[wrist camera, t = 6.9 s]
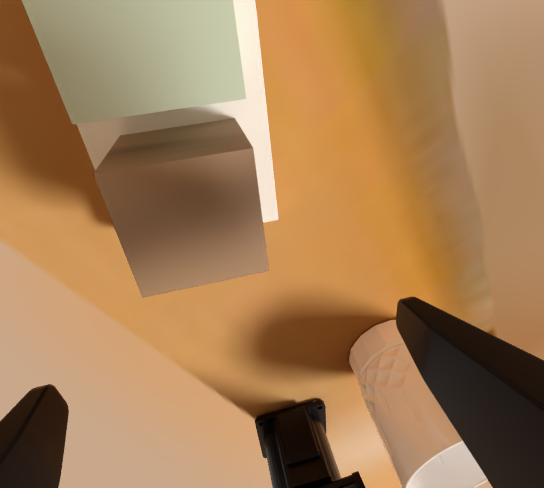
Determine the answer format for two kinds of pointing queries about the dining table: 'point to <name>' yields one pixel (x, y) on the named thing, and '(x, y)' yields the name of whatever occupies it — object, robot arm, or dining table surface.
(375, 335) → the white cup
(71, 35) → the l-shaped block
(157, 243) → the walnut cube
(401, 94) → the dining table surface
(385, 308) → the dining table surface
